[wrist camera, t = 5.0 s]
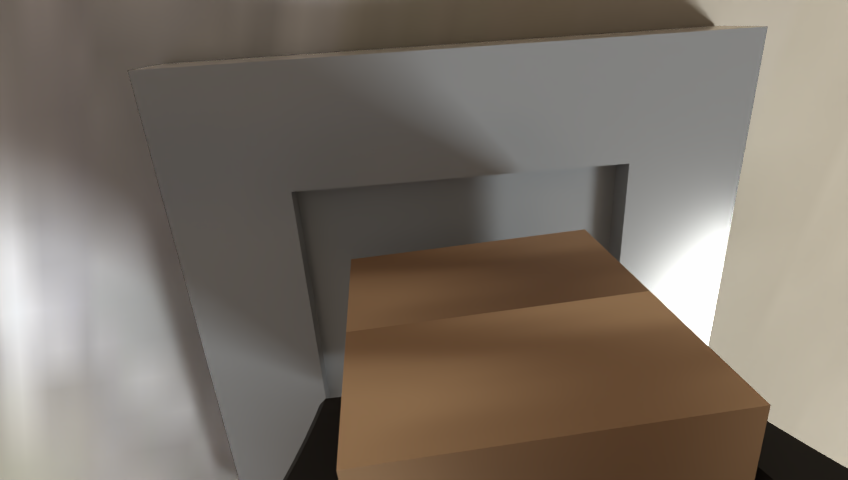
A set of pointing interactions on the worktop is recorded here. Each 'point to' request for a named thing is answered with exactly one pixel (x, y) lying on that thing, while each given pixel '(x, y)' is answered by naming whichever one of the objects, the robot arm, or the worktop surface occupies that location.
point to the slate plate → (431, 185)
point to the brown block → (532, 372)
